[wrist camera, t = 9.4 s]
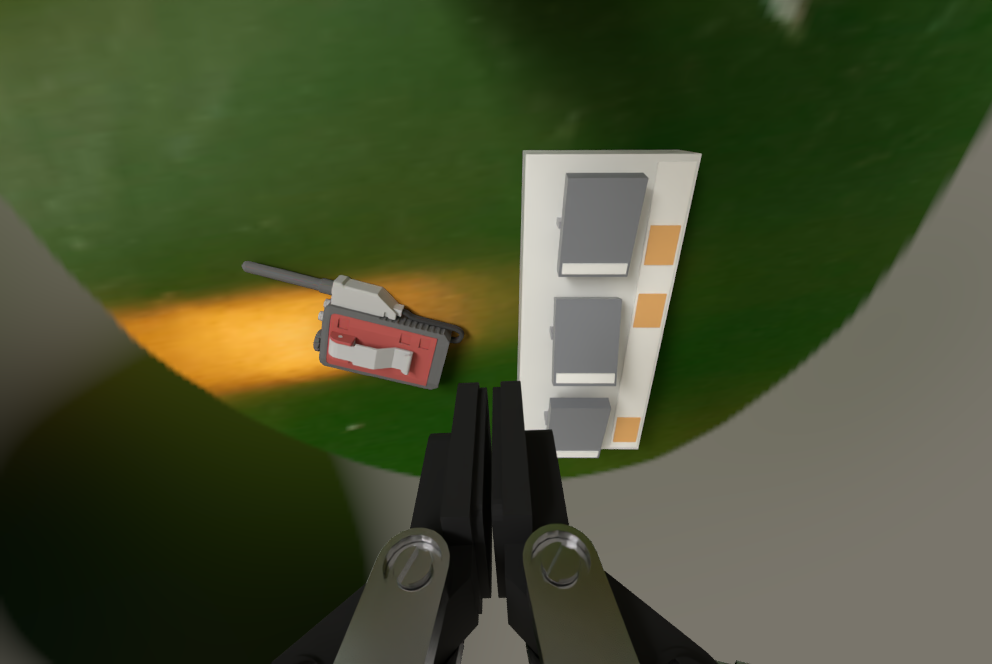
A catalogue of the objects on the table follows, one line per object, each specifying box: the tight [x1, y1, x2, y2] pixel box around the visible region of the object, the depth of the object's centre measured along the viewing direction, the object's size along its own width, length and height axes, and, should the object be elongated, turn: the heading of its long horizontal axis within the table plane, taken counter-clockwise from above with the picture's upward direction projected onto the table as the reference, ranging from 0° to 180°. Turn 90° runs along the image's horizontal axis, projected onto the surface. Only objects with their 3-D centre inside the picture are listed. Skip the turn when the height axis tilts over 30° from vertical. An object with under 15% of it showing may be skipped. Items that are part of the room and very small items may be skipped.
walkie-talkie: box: [242, 261, 464, 390], centre depth 37 cm, size 9×4×20 cm
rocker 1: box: [557, 173, 649, 277], centre depth 28 cm, size 7×5×1 cm
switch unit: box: [517, 150, 702, 449], centre depth 35 cm, size 27×12×5 cm, turn 0°
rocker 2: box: [552, 297, 622, 386], centre depth 32 cm, size 7×5×1 cm
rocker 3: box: [546, 398, 611, 458], centre depth 36 cm, size 7×5×1 cm
